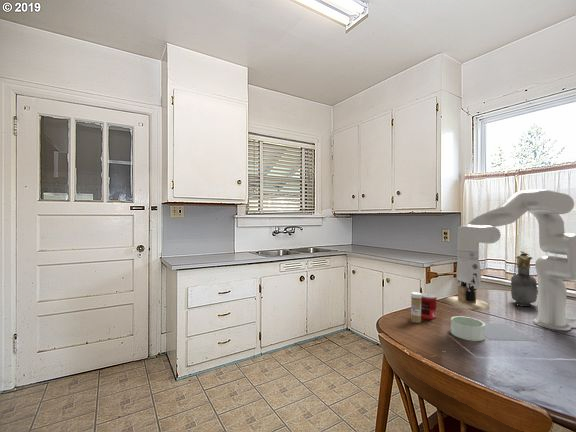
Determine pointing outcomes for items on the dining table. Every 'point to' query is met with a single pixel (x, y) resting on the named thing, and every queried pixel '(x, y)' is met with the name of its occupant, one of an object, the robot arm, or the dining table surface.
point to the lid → (465, 304)
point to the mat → (504, 333)
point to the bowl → (468, 328)
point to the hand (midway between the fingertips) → (466, 298)
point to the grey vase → (523, 282)
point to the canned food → (428, 306)
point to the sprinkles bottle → (416, 307)
